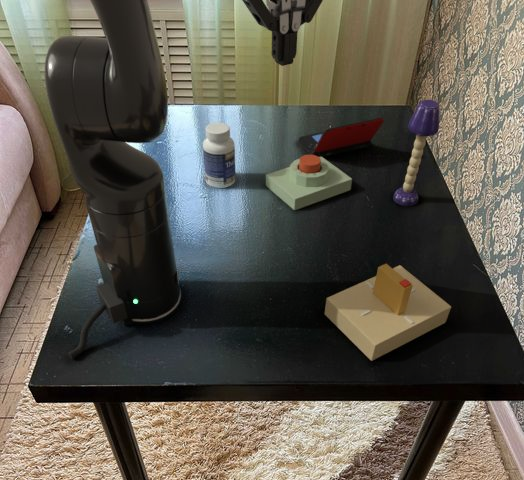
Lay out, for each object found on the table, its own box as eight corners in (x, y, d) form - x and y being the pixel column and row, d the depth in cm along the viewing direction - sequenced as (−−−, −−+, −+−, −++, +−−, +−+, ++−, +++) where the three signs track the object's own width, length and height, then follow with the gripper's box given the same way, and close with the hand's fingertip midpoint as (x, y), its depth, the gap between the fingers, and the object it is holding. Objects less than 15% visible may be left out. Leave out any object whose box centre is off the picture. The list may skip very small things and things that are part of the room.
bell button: (307, 176, 90) (307, 167, 89) (294, 167, 92) (295, 157, 91) (324, 171, 91) (325, 161, 90) (311, 161, 93) (312, 152, 92)
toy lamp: (425, 203, 91) (451, 105, 79) (403, 211, 90) (427, 112, 77) (407, 190, 94) (430, 93, 82) (386, 197, 93) (406, 99, 80)
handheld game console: (351, 130, 109) (356, 93, 103) (379, 156, 102) (386, 117, 97) (295, 142, 105) (298, 104, 100) (320, 169, 99) (324, 129, 93)
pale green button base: (294, 210, 90) (295, 189, 87) (265, 185, 95) (265, 164, 92) (350, 190, 94) (353, 169, 91) (320, 167, 99) (322, 146, 96)
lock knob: (372, 293, 72) (378, 265, 68) (380, 289, 72) (386, 261, 69) (397, 315, 69) (405, 287, 66) (405, 311, 70) (413, 283, 66)
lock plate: (371, 361, 68) (375, 344, 66) (324, 314, 73) (326, 297, 71) (445, 322, 73) (452, 305, 70) (395, 281, 78) (400, 264, 76)
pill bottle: (231, 190, 94) (229, 137, 86) (202, 187, 94) (197, 133, 87) (238, 174, 97) (237, 122, 90) (210, 171, 98) (206, 118, 91)
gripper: (320, -127, 59) (308, 43, 72) (215, -117, 55) (223, 63, 68) (363, -117, 55) (343, 62, 68) (254, -106, 51) (254, 85, 63)
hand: (283, 62), depth 68 cm, fingers closed
